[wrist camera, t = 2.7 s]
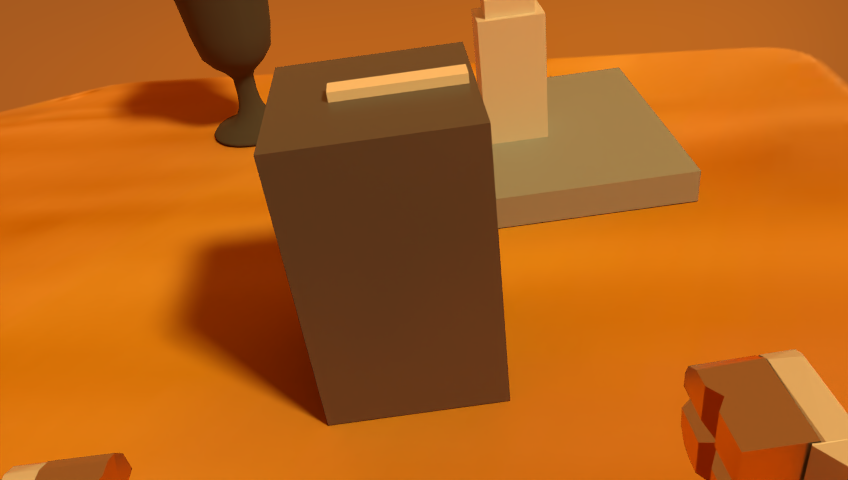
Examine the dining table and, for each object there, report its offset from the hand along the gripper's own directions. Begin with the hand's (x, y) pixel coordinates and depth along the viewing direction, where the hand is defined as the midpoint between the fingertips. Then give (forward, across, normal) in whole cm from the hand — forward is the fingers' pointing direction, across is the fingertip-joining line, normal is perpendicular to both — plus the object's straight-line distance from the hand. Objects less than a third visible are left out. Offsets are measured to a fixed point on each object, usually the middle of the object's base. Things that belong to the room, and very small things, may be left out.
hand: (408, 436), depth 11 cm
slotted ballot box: (+13, 0, +10) cm, 16 cm away
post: (+26, -6, +10) cm, 28 cm away
